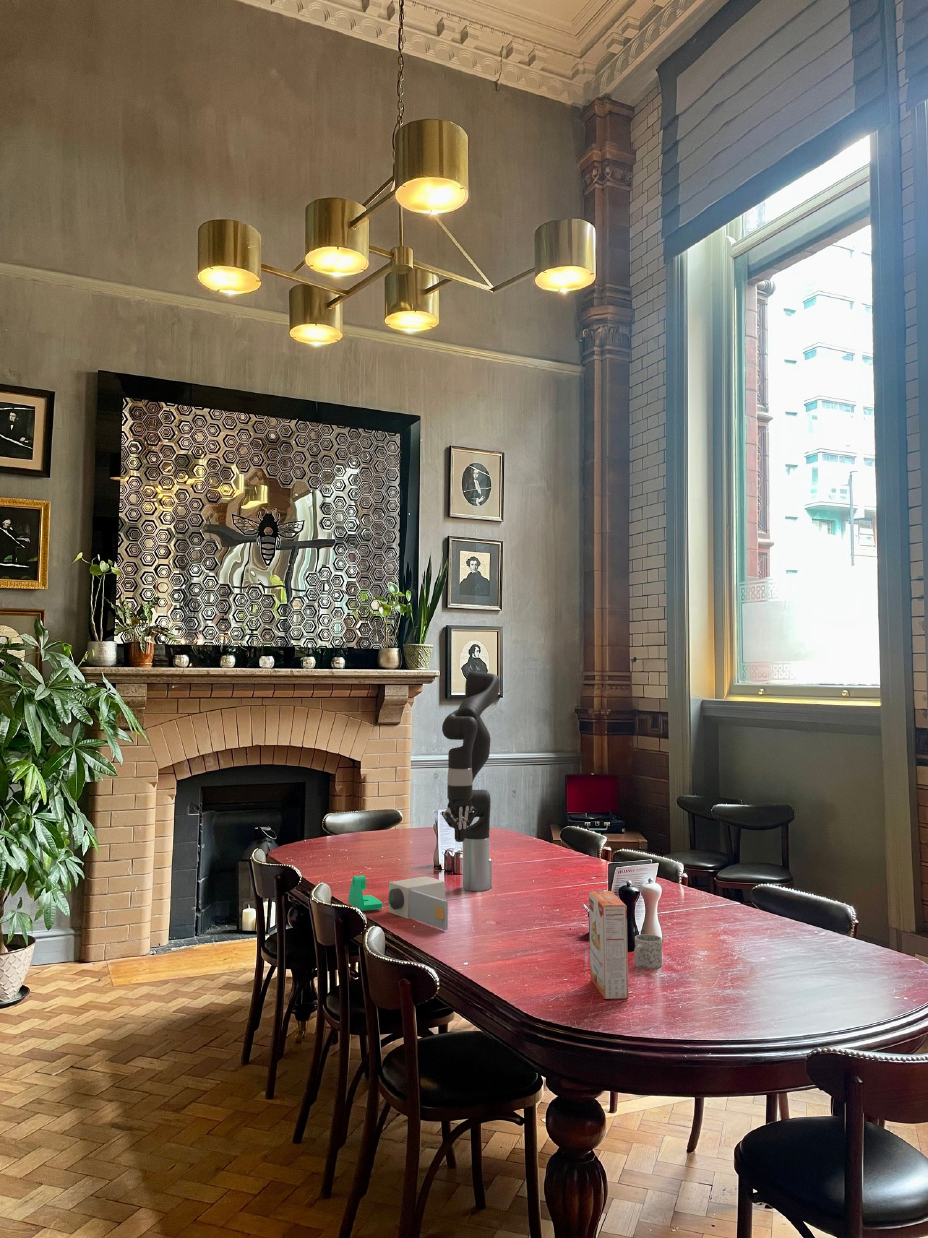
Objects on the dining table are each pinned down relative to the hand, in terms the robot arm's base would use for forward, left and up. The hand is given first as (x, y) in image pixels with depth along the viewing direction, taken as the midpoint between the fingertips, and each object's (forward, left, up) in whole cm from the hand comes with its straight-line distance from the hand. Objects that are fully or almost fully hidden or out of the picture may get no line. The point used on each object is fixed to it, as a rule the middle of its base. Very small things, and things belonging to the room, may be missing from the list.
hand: (459, 841), depth 275 cm
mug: (-8, +64, -23) cm, 69 cm away
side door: (+12, -1, -22) cm, 25 cm away
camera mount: (+15, -29, -23) cm, 40 cm away
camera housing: (+5, -15, -23) cm, 28 cm away
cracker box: (+12, +70, -23) cm, 75 cm away
